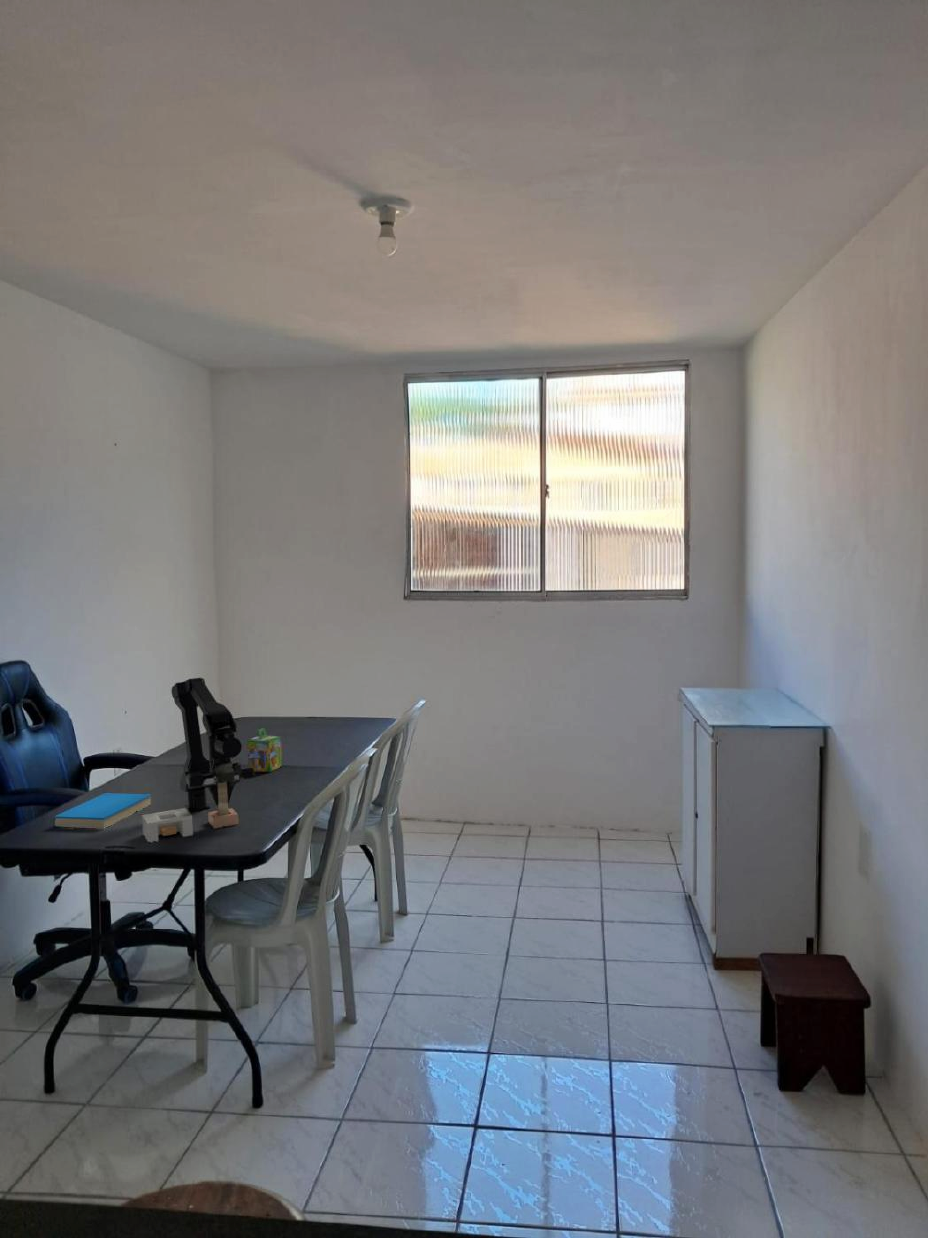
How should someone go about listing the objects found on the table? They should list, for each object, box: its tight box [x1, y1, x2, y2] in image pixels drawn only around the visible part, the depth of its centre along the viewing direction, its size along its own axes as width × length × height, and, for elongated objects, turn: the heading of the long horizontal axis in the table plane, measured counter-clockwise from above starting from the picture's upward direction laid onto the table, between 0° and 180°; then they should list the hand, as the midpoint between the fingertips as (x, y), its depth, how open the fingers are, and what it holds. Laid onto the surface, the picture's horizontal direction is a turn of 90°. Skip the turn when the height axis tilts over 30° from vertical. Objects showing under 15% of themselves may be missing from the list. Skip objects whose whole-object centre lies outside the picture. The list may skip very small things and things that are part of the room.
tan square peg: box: [215, 780, 229, 816], centre depth 265 cm, size 3×3×12 cm
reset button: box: [160, 825, 177, 837], centre depth 256 cm, size 4×4×2 cm
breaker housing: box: [141, 807, 194, 843], centre depth 257 cm, size 9×12×6 cm
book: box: [53, 792, 152, 830], centre depth 278 cm, size 17×4×25 cm
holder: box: [207, 807, 239, 829], centre depth 266 cm, size 7×7×3 cm
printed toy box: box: [246, 727, 283, 773], centre depth 330 cm, size 9×9×15 cm
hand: (222, 804), depth 266 cm, fingers closed on tan square peg, 3 cm apart
